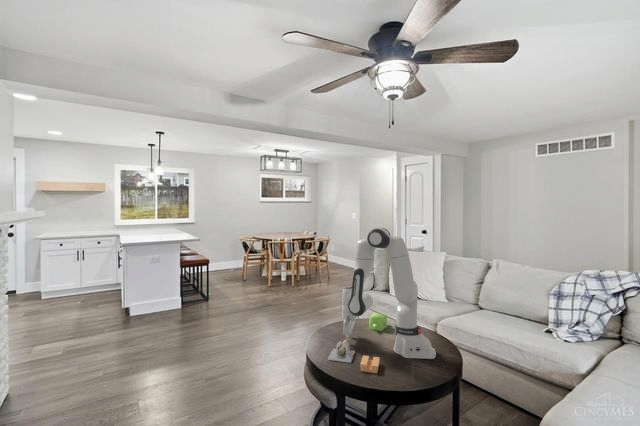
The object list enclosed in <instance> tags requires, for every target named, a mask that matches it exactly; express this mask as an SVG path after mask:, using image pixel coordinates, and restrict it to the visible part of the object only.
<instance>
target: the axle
mask: <svg viewBox="0 0 640 426" xmlns="http://www.w3.org/2000/svg"><path fill="white" fill-rule="evenodd" d="M346 342H349V340H346V339H343V341H342V344H341V346H340V348H339V350H338V354H339V355H340V356H342V355H343V354H344V352H345V350H346V348H344V346H345V344H346Z"/></svg>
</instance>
